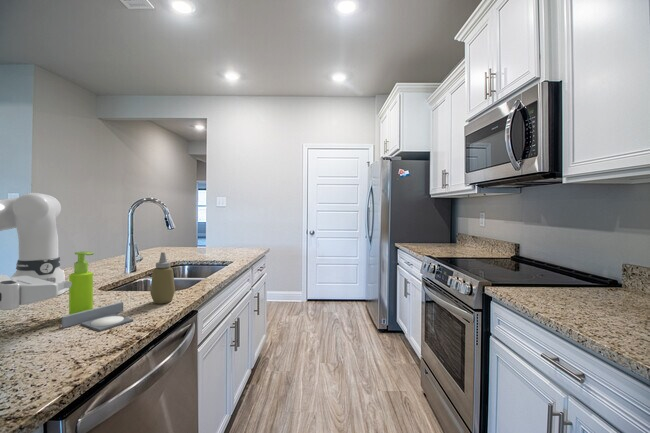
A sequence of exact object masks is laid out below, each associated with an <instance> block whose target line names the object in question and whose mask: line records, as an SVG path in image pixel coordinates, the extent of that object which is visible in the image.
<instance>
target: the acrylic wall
mask: <svg viewBox="0 0 650 433" xmlns="http://www.w3.org/2000/svg"><path fill="white" fill-rule="evenodd" d="M123 312H124V302H123V301H120V302H115V303H111V304H107V305H103V306H98V307H95V308H94V307H93V309H90V310H86V311H82V312H78V313H74V314H70V315H69V314H67V315H63V316H61V328H63V329H65V328H69V327H71V326H75V325H76V326H77V325H79V324H80V325H81V323H83V322H86V321H90V320H94V319H97V318H101V317H105V316H108V315H112V314H119V313H123Z"/></svg>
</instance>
